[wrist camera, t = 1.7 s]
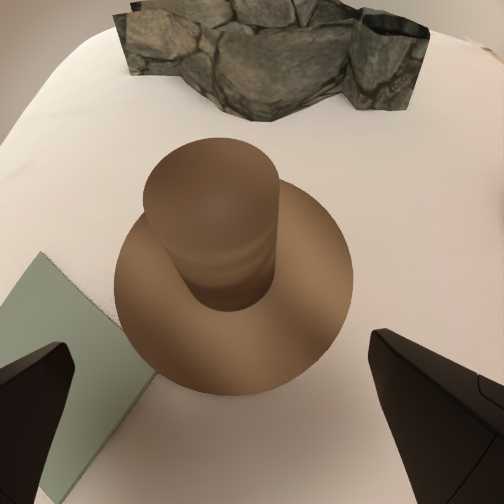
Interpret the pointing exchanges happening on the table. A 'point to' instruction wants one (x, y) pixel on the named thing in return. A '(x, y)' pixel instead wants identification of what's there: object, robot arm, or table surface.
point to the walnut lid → (230, 272)
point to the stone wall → (276, 52)
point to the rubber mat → (86, 367)
